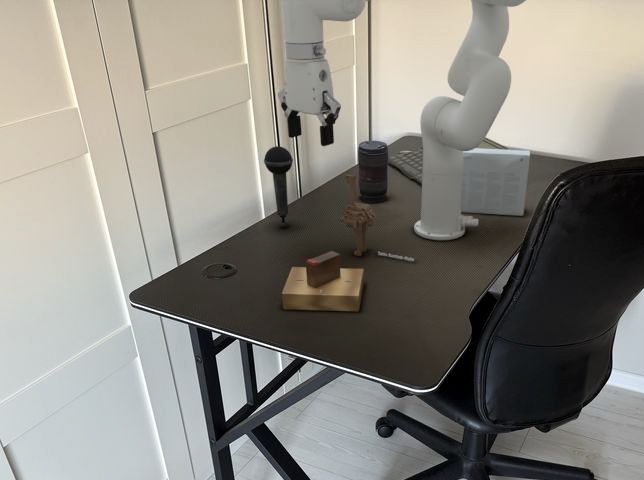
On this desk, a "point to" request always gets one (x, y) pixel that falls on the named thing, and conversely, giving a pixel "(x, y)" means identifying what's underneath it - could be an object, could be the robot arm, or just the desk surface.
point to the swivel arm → (323, 269)
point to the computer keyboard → (414, 160)
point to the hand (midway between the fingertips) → (311, 140)
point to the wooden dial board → (324, 291)
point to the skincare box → (494, 181)
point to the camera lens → (373, 170)
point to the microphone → (279, 177)
